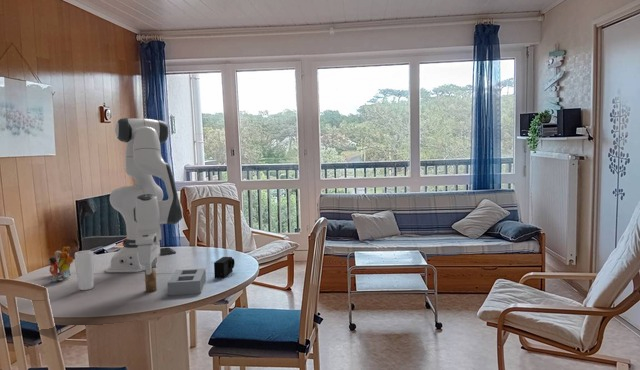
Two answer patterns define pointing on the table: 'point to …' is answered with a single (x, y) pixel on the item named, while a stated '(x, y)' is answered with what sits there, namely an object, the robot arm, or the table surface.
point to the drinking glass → (85, 269)
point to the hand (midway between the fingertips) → (151, 270)
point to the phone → (166, 251)
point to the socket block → (187, 282)
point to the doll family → (60, 265)
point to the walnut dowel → (150, 281)
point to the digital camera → (223, 267)
